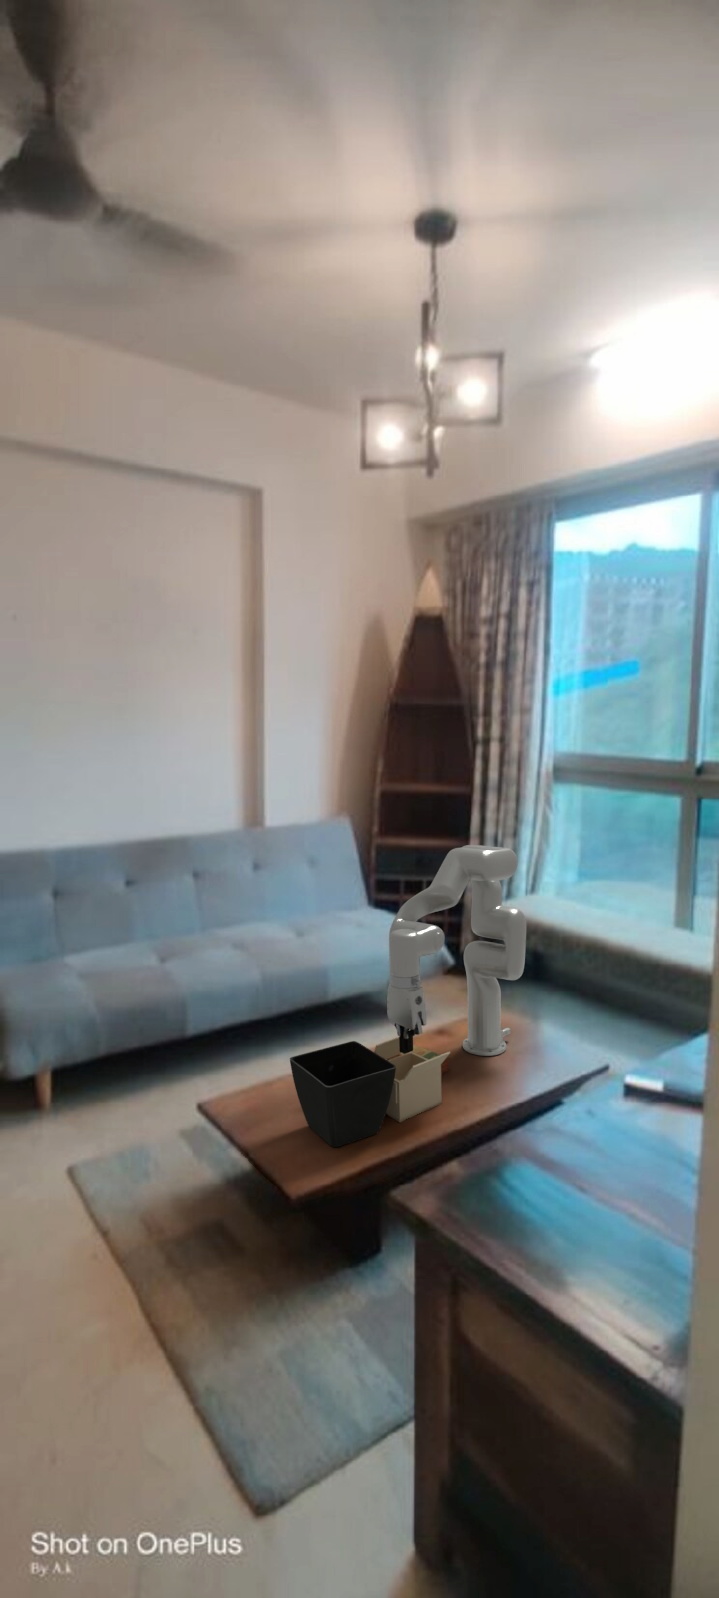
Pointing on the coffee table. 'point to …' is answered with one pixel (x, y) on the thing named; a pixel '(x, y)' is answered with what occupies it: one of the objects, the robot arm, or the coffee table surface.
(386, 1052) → the far flap
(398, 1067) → the shipping box
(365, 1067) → the flower pot
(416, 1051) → the carton
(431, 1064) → the near flap
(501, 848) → the robot arm
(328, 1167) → the coffee table surface
